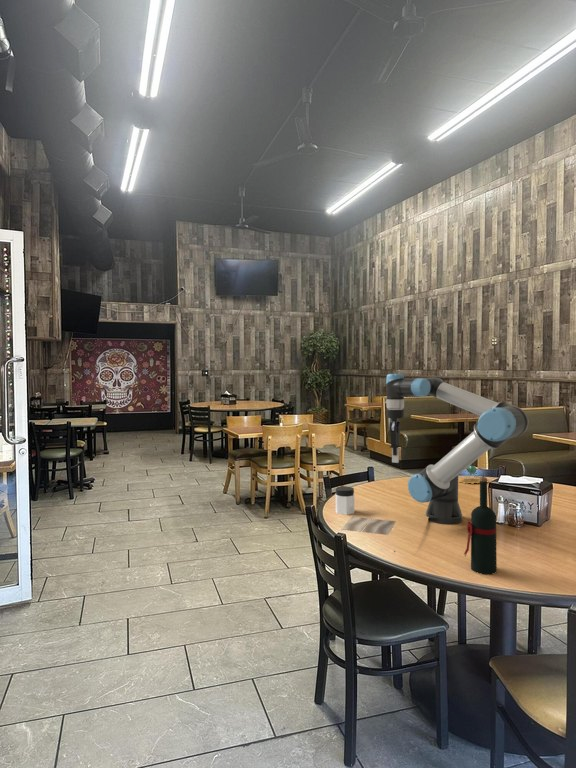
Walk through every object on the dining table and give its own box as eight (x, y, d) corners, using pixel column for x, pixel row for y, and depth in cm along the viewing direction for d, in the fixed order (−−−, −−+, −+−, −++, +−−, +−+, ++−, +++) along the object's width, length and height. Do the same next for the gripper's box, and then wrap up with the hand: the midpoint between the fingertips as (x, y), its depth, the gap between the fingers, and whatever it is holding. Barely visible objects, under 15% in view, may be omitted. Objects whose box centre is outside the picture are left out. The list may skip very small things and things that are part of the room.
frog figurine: (492, 485, 272) (489, 459, 271) (458, 488, 275) (455, 462, 275) (488, 481, 281) (485, 456, 281) (456, 483, 284) (453, 458, 284)
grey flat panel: (398, 524, 205) (398, 520, 205) (389, 539, 187) (389, 535, 187) (345, 518, 214) (345, 515, 214) (331, 532, 195) (331, 529, 195)
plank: (370, 521, 208) (370, 518, 208) (360, 534, 192) (360, 531, 192) (352, 518, 211) (352, 516, 211) (341, 531, 195) (341, 528, 195)
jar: (343, 518, 213) (342, 491, 213) (331, 514, 220) (331, 488, 220) (358, 515, 218) (358, 488, 218) (346, 511, 225) (346, 485, 224)
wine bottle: (460, 564, 162) (460, 475, 161) (491, 564, 161) (491, 475, 161) (467, 574, 154) (467, 480, 153) (500, 574, 154) (500, 480, 153)
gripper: (389, 407, 221) (389, 459, 221) (383, 409, 208) (384, 464, 209) (406, 407, 218) (406, 460, 218) (401, 410, 206) (401, 465, 206)
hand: (395, 462), depth 214 cm, fingers closed
